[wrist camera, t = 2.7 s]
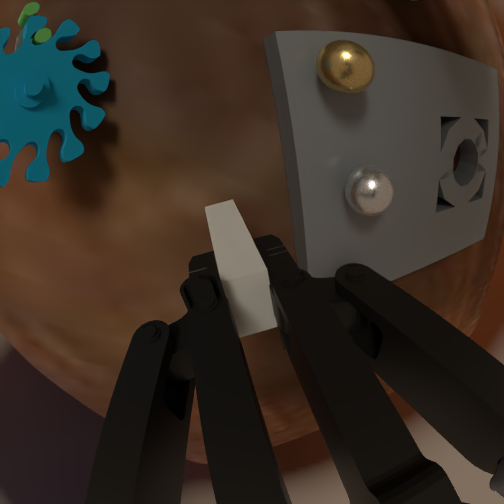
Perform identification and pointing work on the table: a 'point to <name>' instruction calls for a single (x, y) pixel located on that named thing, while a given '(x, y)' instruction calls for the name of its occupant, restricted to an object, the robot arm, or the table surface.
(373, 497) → the robot arm
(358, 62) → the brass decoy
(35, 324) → the table surface
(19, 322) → the table surface
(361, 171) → the steel ball
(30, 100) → the gear
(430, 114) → the plate
